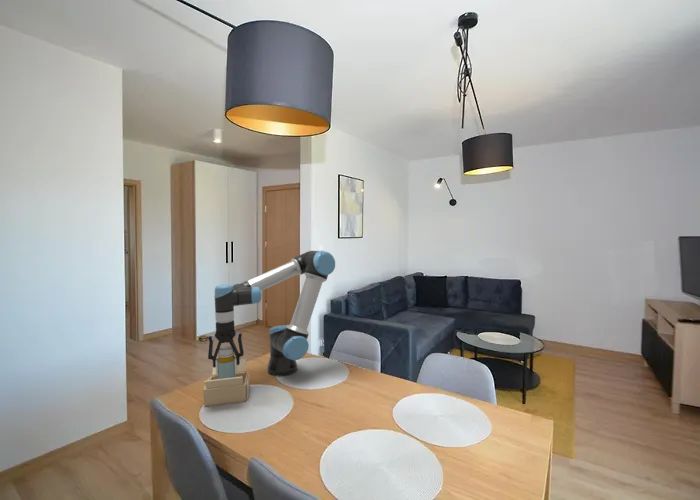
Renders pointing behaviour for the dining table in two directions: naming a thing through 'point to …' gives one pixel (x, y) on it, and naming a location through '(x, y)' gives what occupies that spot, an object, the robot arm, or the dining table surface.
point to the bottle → (226, 363)
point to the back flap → (240, 367)
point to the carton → (227, 392)
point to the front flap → (223, 382)
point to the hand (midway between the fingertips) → (226, 373)
